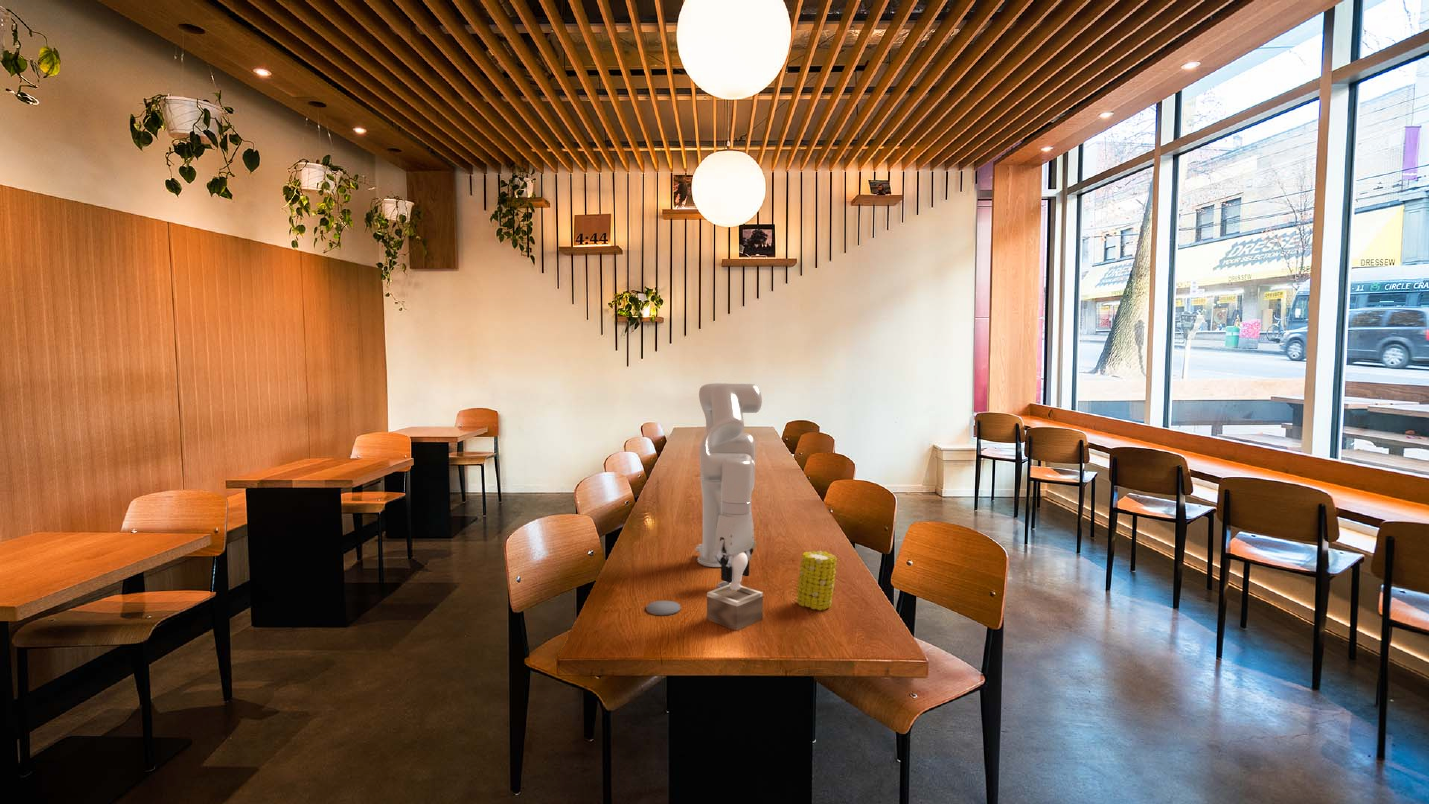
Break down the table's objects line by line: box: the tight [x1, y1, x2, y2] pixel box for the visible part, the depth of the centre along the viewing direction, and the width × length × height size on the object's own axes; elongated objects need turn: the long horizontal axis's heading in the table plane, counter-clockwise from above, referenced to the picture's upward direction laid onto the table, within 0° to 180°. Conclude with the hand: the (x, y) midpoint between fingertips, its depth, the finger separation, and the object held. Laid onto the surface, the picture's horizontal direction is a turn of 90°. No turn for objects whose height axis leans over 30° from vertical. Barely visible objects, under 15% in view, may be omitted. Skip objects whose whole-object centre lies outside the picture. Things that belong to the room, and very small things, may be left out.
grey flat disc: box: [645, 600, 681, 617], centre depth 175 cm, size 9×9×1 cm
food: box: [796, 550, 838, 611], centre depth 179 cm, size 15×12×10 cm
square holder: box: [706, 584, 764, 632], centre depth 168 cm, size 10×10×7 cm
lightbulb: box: [725, 552, 748, 592], centre depth 168 cm, size 6×6×11 cm
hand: (735, 577), depth 168 cm, fingers closed on lightbulb, 5 cm apart
